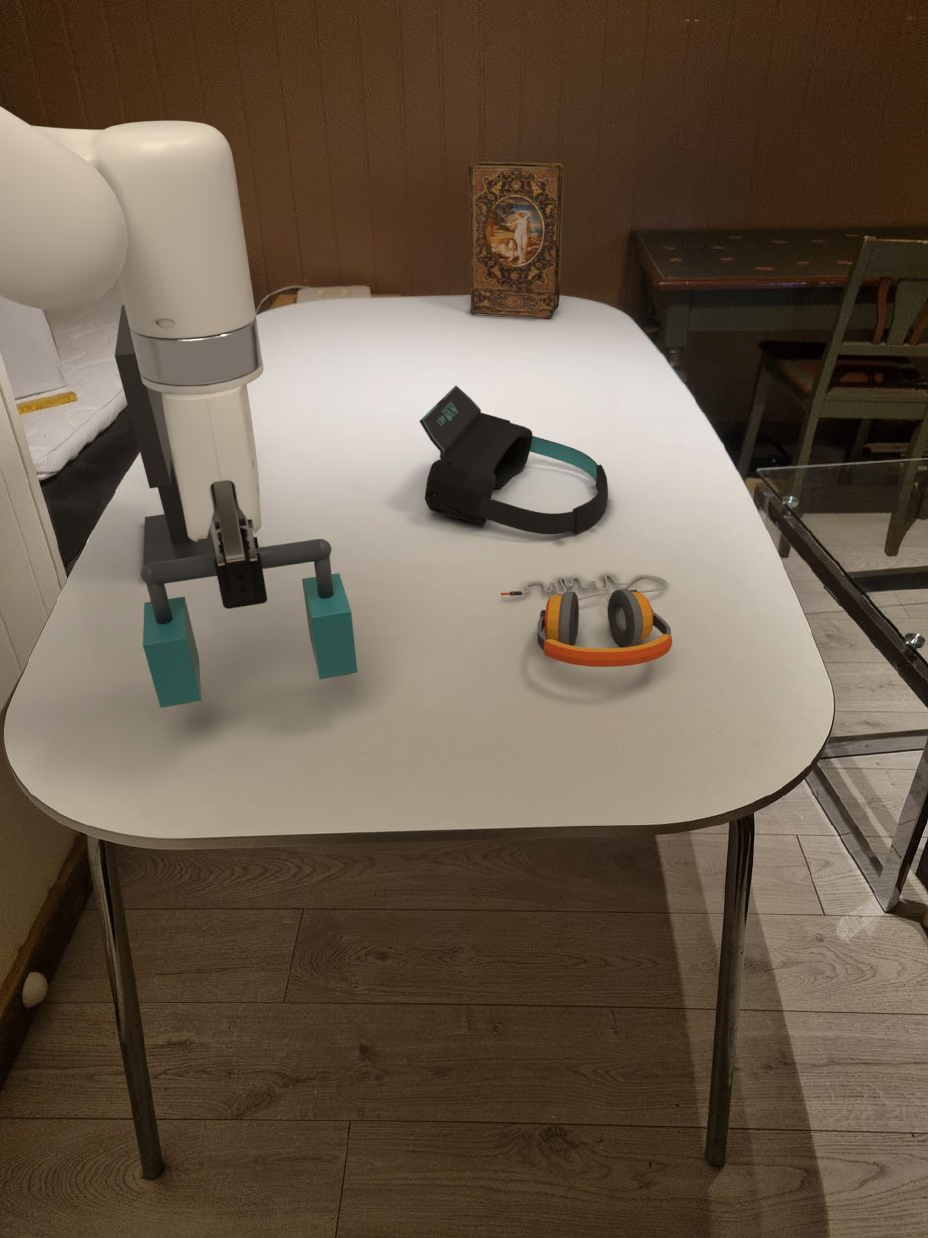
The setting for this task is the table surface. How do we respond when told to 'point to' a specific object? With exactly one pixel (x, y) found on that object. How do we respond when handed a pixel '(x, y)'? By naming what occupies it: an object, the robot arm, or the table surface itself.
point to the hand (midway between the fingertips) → (244, 594)
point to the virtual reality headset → (496, 468)
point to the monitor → (155, 460)
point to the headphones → (625, 619)
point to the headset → (169, 618)
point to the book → (515, 238)
